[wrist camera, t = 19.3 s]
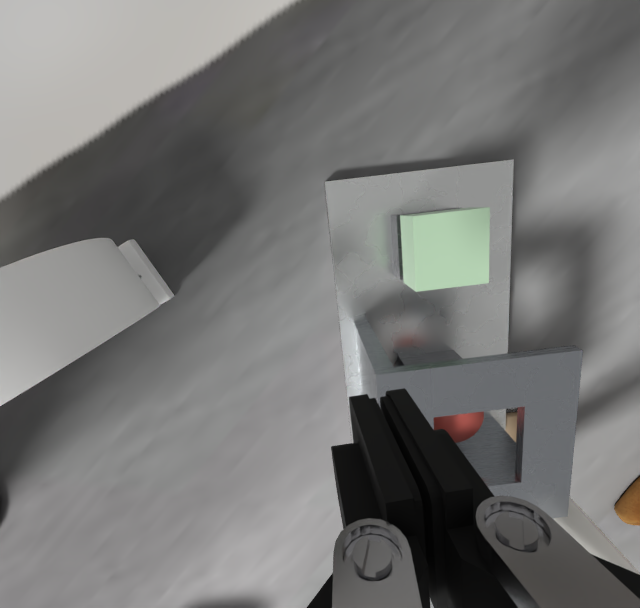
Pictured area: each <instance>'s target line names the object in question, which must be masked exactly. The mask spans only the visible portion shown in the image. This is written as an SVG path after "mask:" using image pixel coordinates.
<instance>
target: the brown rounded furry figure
mask: <svg viewBox="0 0 640 608" xmlns="http://www.w3.org/2000/svg"><path fill="white" fill-rule="evenodd" d="M614 509H615V512H616V514H617V515H618V516H619V518H620V519H621V520H622V521H623V522H625V523H627V524H631V525H640V477H639V478H638V479H637V480H636V481H635V482H634V483H633V484H632V485H631V486H630V487H629V488H628V489H627V490H626V492H625V493H624V494H623V495H622V497H621V498H620V499H619V500H618V502H617V503H616V504H615V508H614Z"/></svg>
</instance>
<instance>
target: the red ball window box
mask: <svg viewBox="0 0 640 608" xmlns="http://www.w3.org/2000/svg"><path fill="white" fill-rule="evenodd" d="M513 169H514V159H513V160H504V161H496V162H487V163H479V164H470V165H462V166H454V167H445V168H437V169H428V170H420V171H411V172H403V173H394V174H386V175H377V176H369V177H360V178H352V179H343V180H335V181H326V182H324V185H325V194H326V204H327V214H328V223H329V233H330V242H331V252H332V261H333V271H334V280H335V290H336V299H337V309H338V318H339V328H340V337H341V347H342V356H343V366H344V376H345V385H346V395H347V404H348V414H349V423H350V433H351V442H352V443H354V442H353V433H352V424H351V415H350V406H349V397H351V396H357V395H364V394H368V396H369V399H370V398H376V400H377V402H378V404H379V406H380V397H383V396H386V391H390V390H396V389H403V388H405V389H406V390H407V392H408V393H409V394H410V396H411V397H412V399H413V400H414V402H415V403H416V405H417V406H418V408H419V409H420V411H421V412H422V414H423V415H424V417H425V418H426V420H427V421H428V422H429V424H430V425H431V427H432V428H433V430H434V417H442V416H450V415H458V414H467V413H475V412H483V411H484V419H483V423H482V425H481V427H480V429H479V430H478V431H477V432H476V433H475V434H474V435H473V436H472V437H470V438H469V439H467V440H465V441H462V442H457V443H456V445H457V446H458V447H459V449H460V450H461V451H462V453H463V454H464V455H465V457H466V458H467V460H468V461H469V462H470V464H471V465H472V466H473V468H474V469H475V470H476V472H477V473H478V474H479V476H480V477H481V479H482V480H483V481H484V483H485V484H486V485H487V487H488V488H489V489H490V491H491V492H492V493H493V495H494V496H512V497H516V498H520V499H523V500H526V501H528V502H530V503H532V504H534V505H536V506H538V507H539V508H540V509H542V510H543V511H544V512H546V513H547V514H548V515H549V516H550V517H551V518H559V517H568V507H569V496H570V485H571V474H572V464H573V453H574V442H575V431H576V420H577V410H578V399H579V388H580V377H581V366H582V355H583V350H582V349H580V348H578V347H576V346H574V345H573V346H565V347H556V348H548V349H540V350H531V351H523V352H515V353H508V330H509V298H510V266H511V233H512V201H513ZM468 207H490V238H489V283H486V284H477V285H469V286H461V287H452V288H444V289H436V290H427V291H419V292H415V291H414V290H413V289H411V288H410V287H409V286H407V285H406V284H405V283H404V281H403V262H402V243H401V223H400V215H409V214H417V213H426V212H434V211H443V210H451V209H460V208H468ZM516 407H518V409H517V434H516V442H515V441H514V440H513V439H512V438H511V437H510V435H509V434H508V433H507V432H506V431H505V427H506V409H508V408H516ZM380 409H381V408H380Z"/></svg>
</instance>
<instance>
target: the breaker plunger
mask: <svg viewBox="0 0 640 608" xmlns="http://www.w3.org/2000/svg"><path fill="white" fill-rule="evenodd" d="M483 419H484V411H483V412H475V413H467V414H458V415H450V416H442V417H434V430H438V429H444V430H446V431H447V432H448V434H449V435H450V436H451V438H452V439H453V440H454V442H455V443H457V442H462V441H465V440H467V439H469V438H470V437H472V436H473V435H474V434H475V433H476V432H477V431H478V430H479V429H480V427H481V425H482V423H483Z"/></svg>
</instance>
